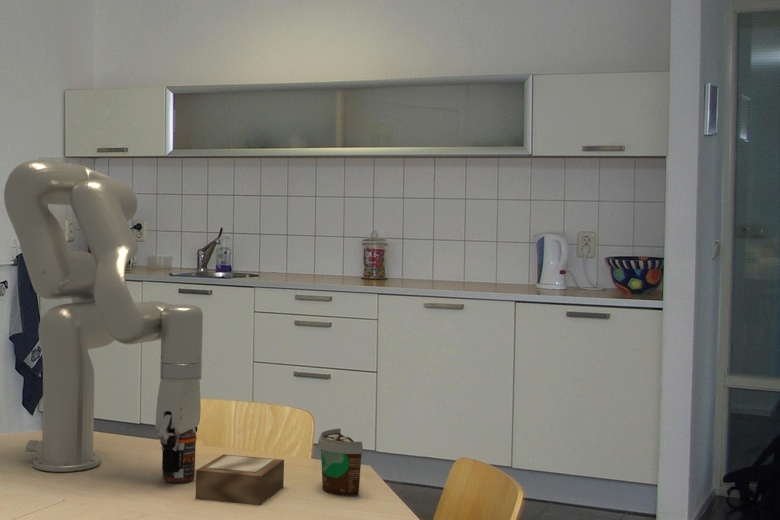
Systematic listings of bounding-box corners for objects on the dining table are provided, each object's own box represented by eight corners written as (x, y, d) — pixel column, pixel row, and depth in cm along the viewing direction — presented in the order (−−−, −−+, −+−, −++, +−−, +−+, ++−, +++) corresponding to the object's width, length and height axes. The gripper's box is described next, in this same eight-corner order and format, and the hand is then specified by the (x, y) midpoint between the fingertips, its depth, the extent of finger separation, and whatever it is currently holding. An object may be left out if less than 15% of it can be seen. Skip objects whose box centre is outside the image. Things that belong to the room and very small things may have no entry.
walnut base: (195, 498, 164) (196, 468, 163) (222, 480, 175) (223, 453, 175) (260, 504, 161) (261, 474, 161) (283, 486, 173) (284, 458, 173)
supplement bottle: (186, 485, 172) (188, 424, 171) (156, 482, 173) (158, 421, 172) (199, 477, 178) (201, 417, 177) (170, 474, 179) (171, 415, 178)
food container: (307, 482, 176) (308, 429, 176) (337, 479, 178) (339, 427, 178) (329, 500, 165) (330, 444, 164) (361, 497, 167) (363, 442, 167)
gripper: (182, 363, 184) (180, 454, 184) (140, 376, 167) (138, 477, 168) (218, 366, 182) (216, 458, 183) (179, 379, 165) (176, 480, 166)
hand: (178, 466), depth 175 cm, fingers closed on supplement bottle, 6 cm apart
